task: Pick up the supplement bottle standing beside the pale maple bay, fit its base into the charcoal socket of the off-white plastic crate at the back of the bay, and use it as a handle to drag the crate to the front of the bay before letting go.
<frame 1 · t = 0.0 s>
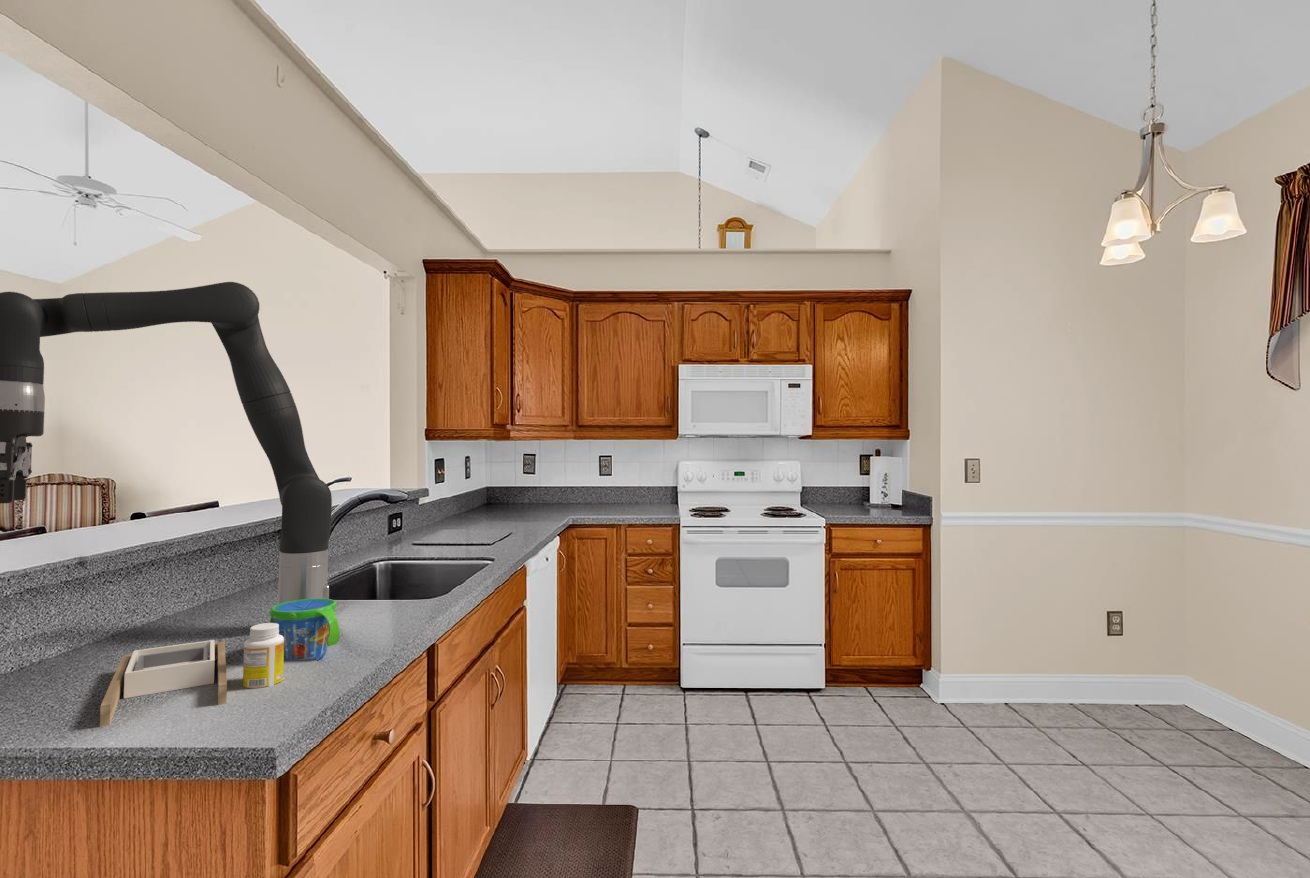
hand: (10, 501, 106), 29 cm above the worktop, tool pointing down, fingers open, 8 cm apart
snack cup: (302, 660, 114), on the worktop
bay: (170, 694, 97), on the worktop
supplement bottle: (262, 690, 99), on the worktop
crate: (173, 666, 100), point 3 cm above the worktop, slide at 0.0 cm
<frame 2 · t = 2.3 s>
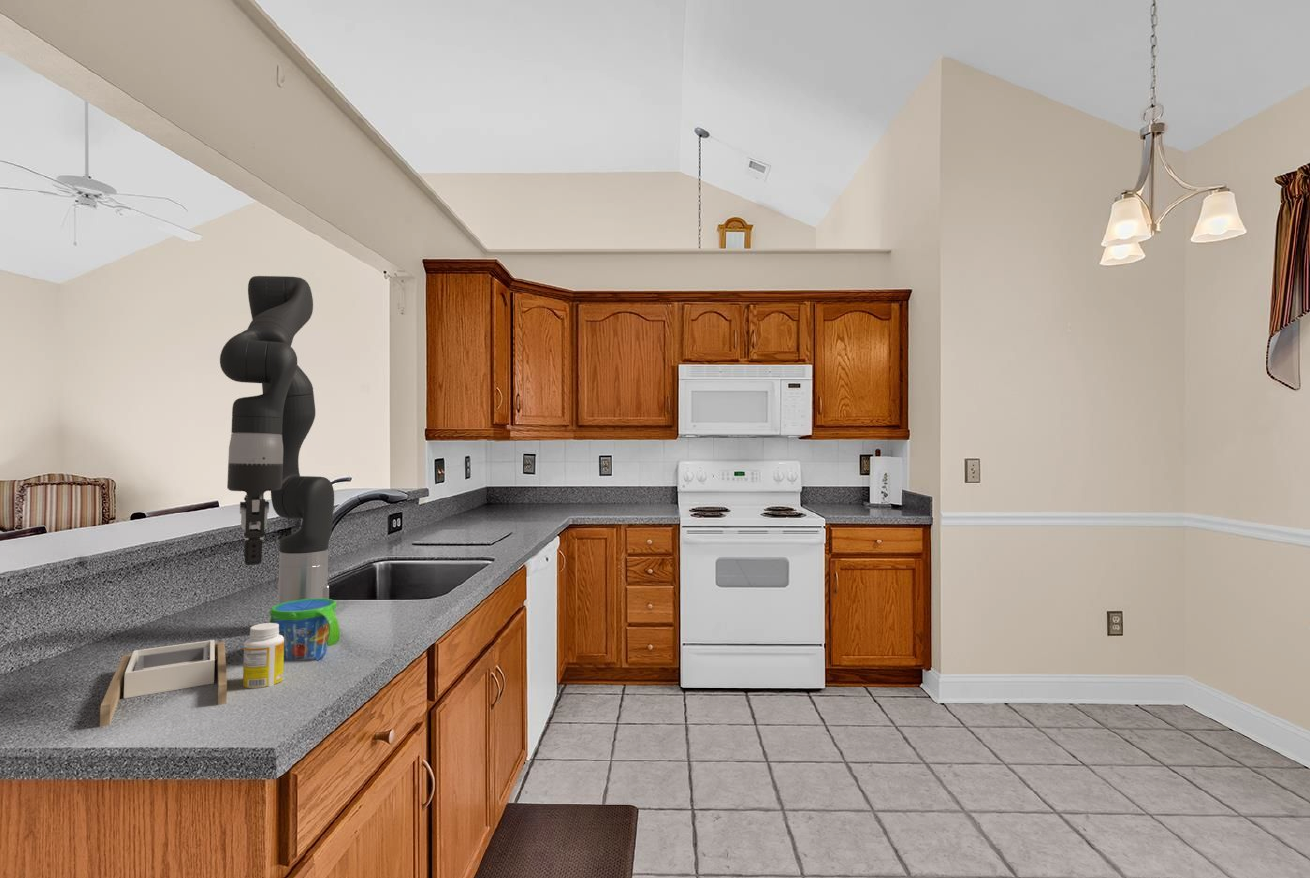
hand: (252, 560, 100), 21 cm above the worktop, tool pointing down, fingers open, 8 cm apart
nothing on the worktop moved.
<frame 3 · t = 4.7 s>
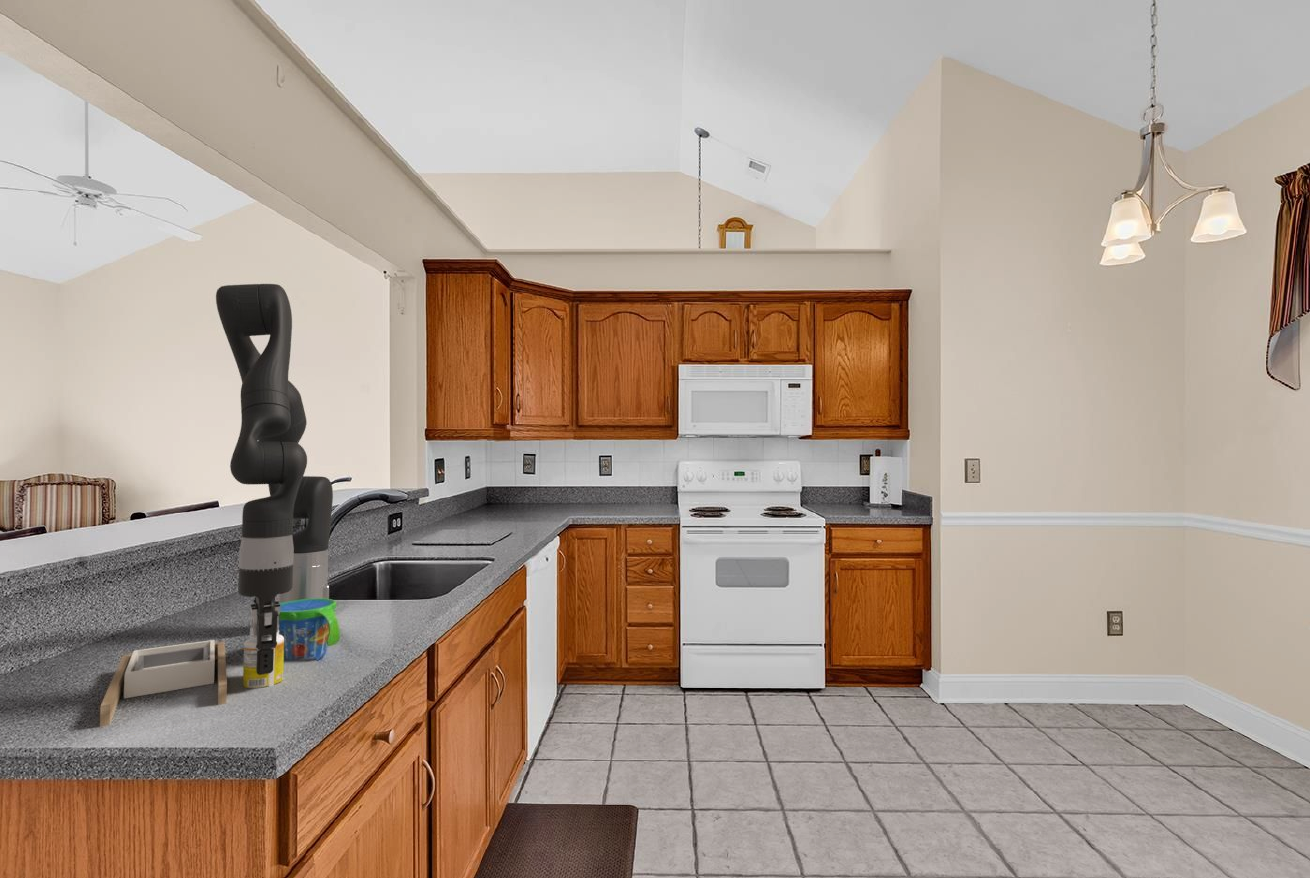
hand: (263, 667, 99), 4 cm above the worktop, tool pointing down, fingers closed on supplement bottle, 5 cm apart
supplement bottle: (262, 690, 99), on the worktop, touching gripper
everything else where it was.
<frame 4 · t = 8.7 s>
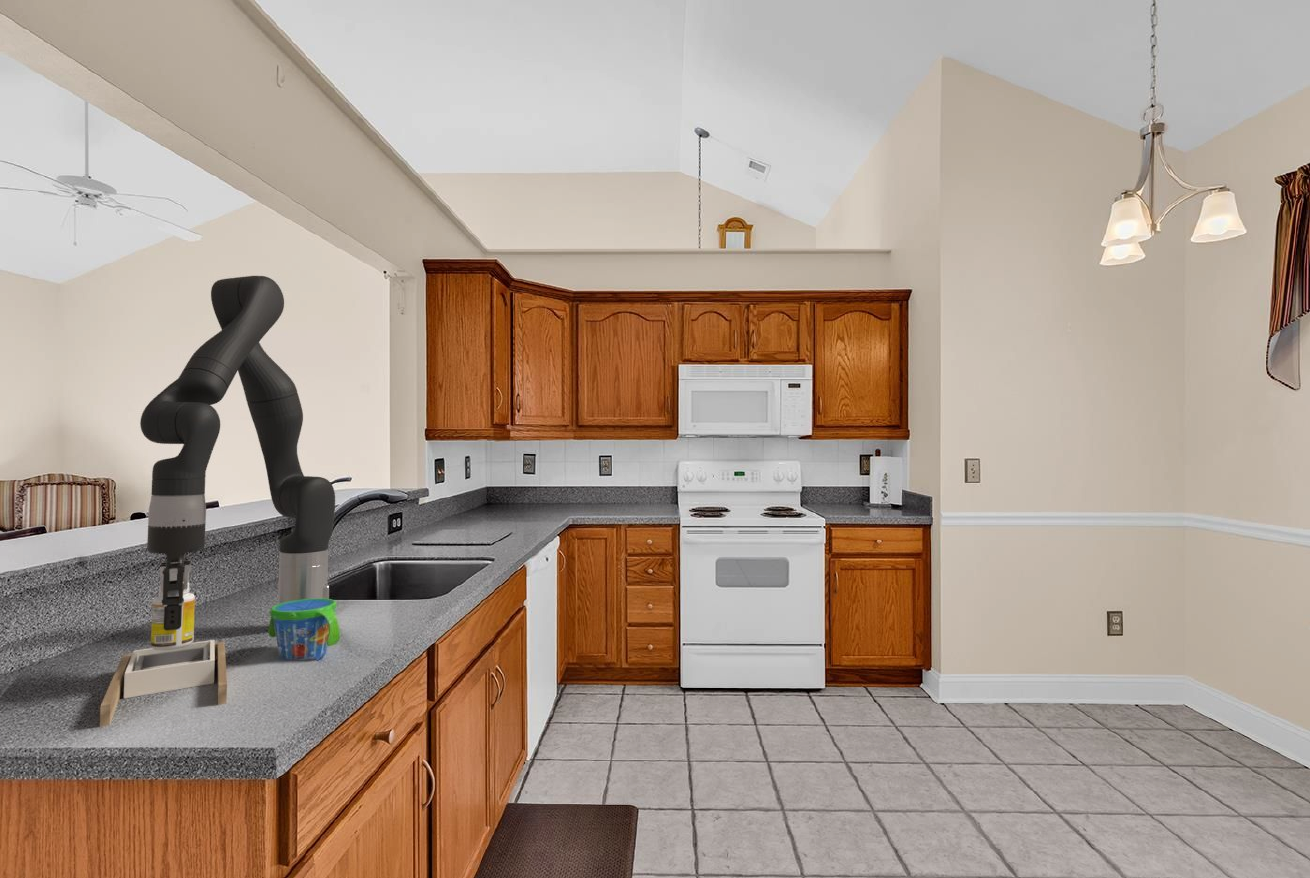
hand: (173, 624, 101), 10 cm above the worktop, tool pointing down, fingers closed on supplement bottle, 5 cm apart
supplement bottle: (172, 647, 100), point 6 cm above the worktop, touching gripper
everything else where it was.
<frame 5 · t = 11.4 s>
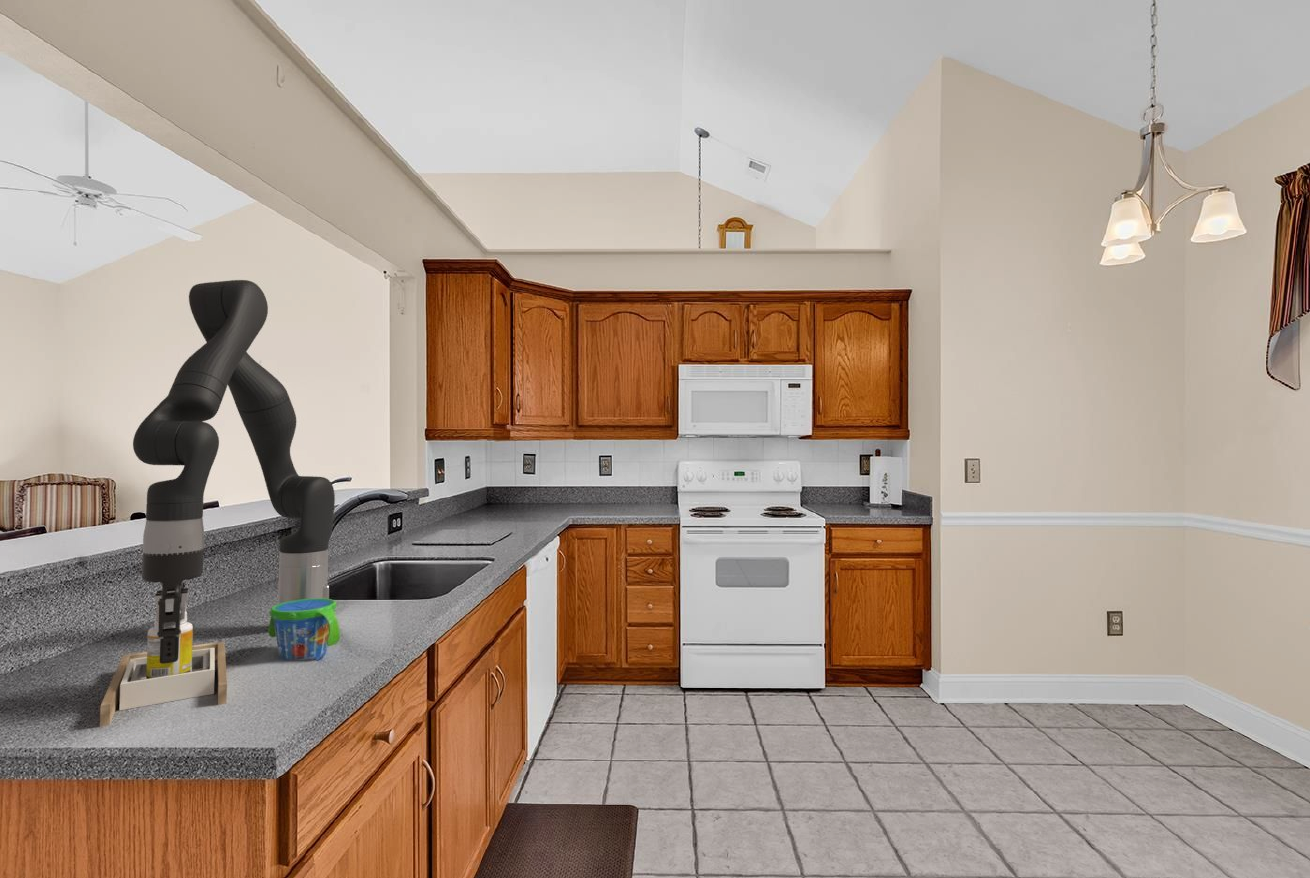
hand: (170, 656, 95), 7 cm above the worktop, tool pointing down, fingers closed on supplement bottle, 5 cm apart
supplement bottle: (169, 680, 95), point 3 cm above the worktop, touching crate, gripper
crate: (171, 676, 96), point 3 cm above the worktop, slide at 5.2 cm, touching supplement bottle
everything else where it was.
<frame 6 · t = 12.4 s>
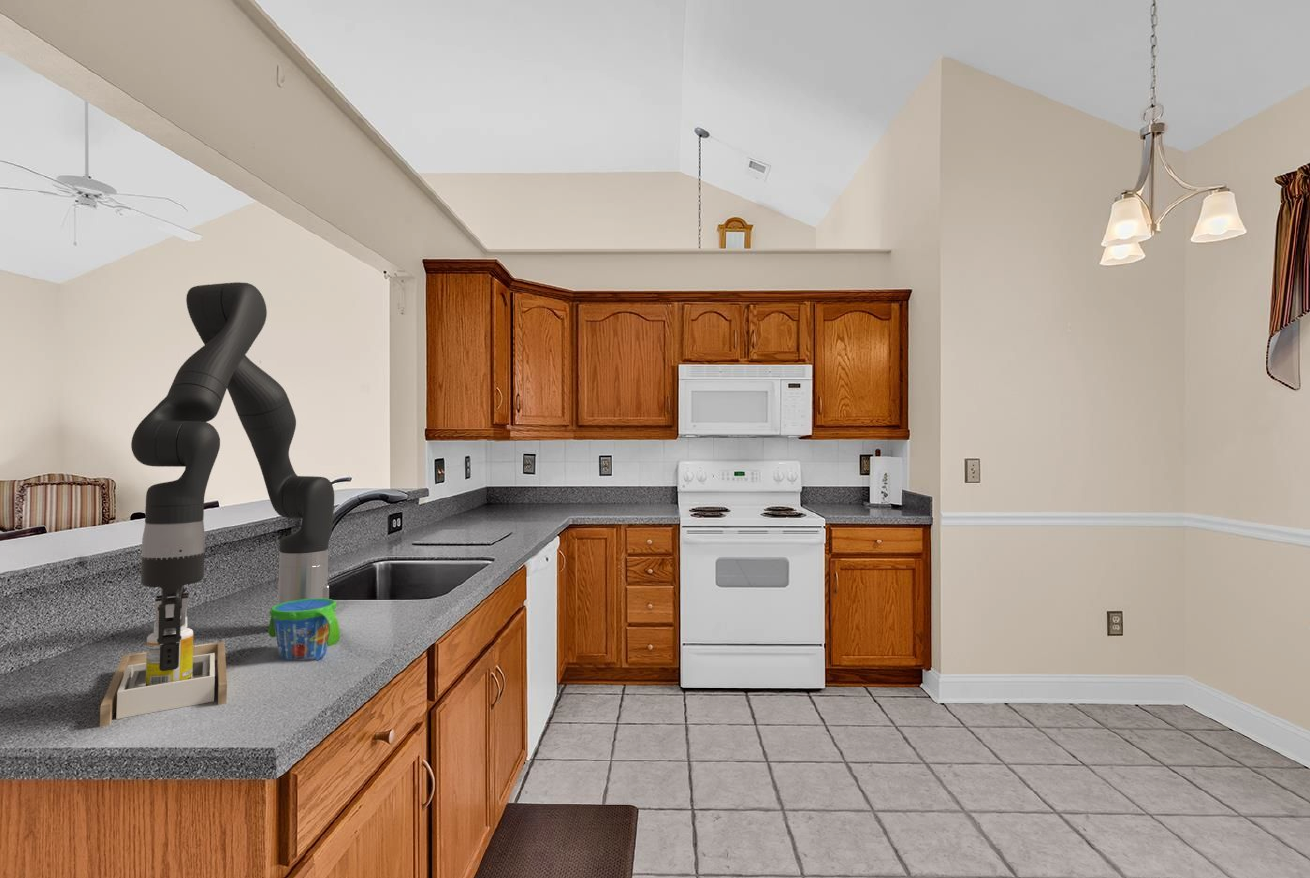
hand: (170, 663, 92), 6 cm above the worktop, tool pointing down, fingers closed on supplement bottle, 5 cm apart
supplement bottle: (168, 688, 92), point 3 cm above the worktop, touching gripper
crate: (169, 683, 93), point 3 cm above the worktop, slide at 8.6 cm
everything else where it was.
when the fingers open (6 cm above the worktop, at t = 12.8 s): supplement bottle stays where it is, resting on crate.
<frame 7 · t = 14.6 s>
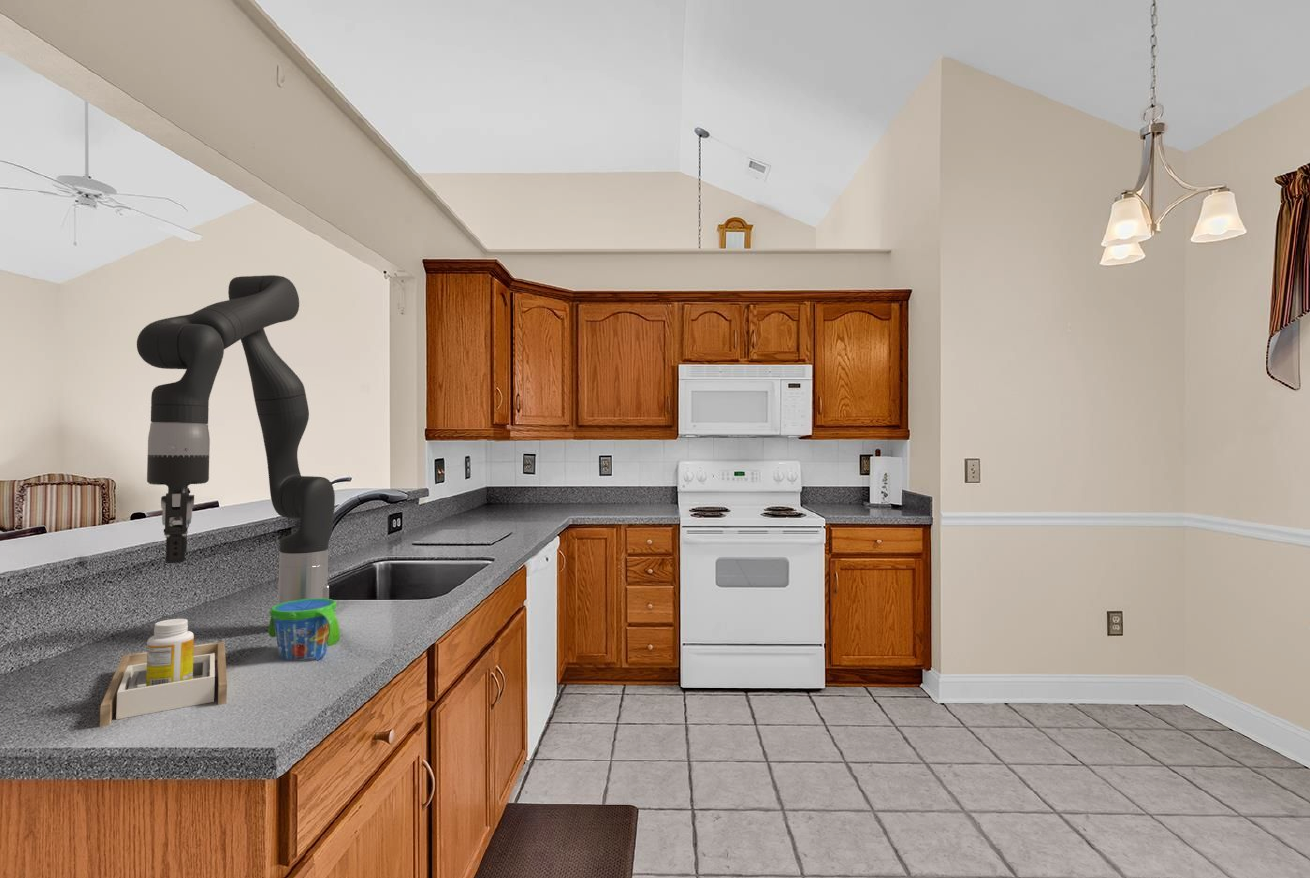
hand: (176, 558, 94), 22 cm above the worktop, tool pointing down, fingers open, 8 cm apart
supplement bottle: (169, 691, 92), point 2 cm above the worktop, touching crate
crate: (169, 683, 93), point 3 cm above the worktop, slide at 8.8 cm, touching supplement bottle
everything else where it was.
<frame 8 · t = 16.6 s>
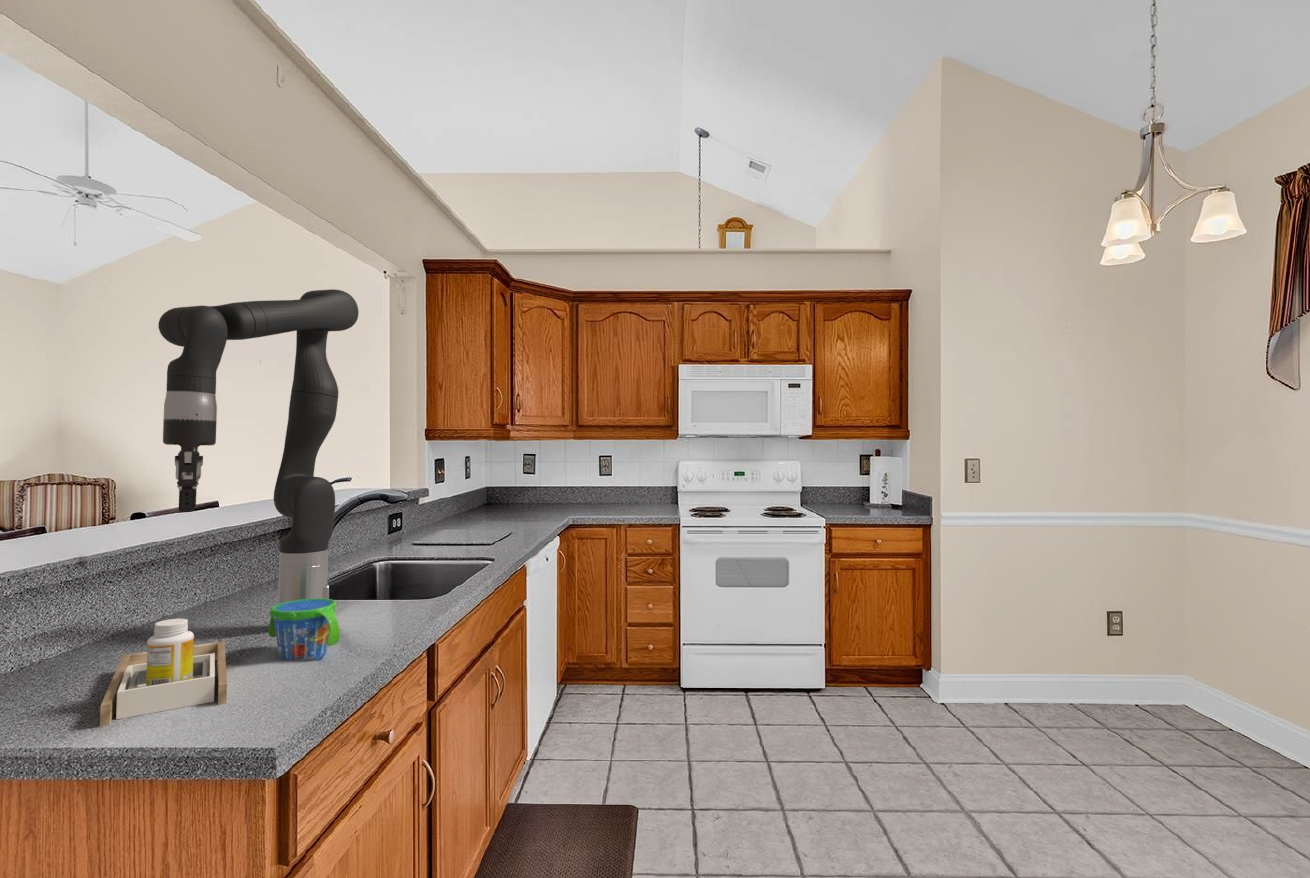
hand: (187, 509, 108), 28 cm above the worktop, tool pointing down, fingers open, 8 cm apart
nothing on the worktop moved.
at the end: crate slide at 8.8 cm; supplement bottle 1.1 cm off-centre on the crate, point 1.0 cm above the crate's base; supplement bottle tilted 0° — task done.
